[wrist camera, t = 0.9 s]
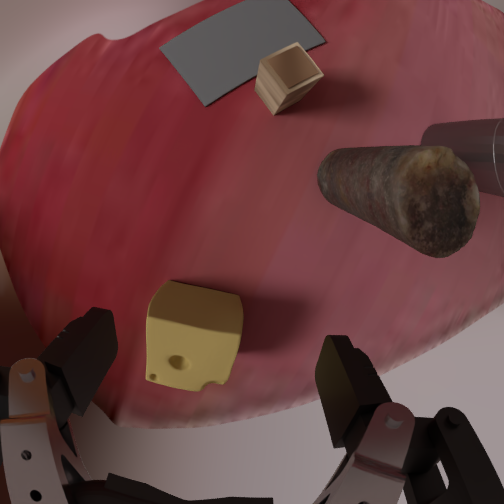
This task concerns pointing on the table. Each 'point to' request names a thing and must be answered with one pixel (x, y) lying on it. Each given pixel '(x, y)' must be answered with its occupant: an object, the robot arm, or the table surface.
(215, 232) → the table surface
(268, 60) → the block
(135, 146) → the table surface
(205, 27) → the mat
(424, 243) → the brown rough cylinder
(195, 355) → the cheese
